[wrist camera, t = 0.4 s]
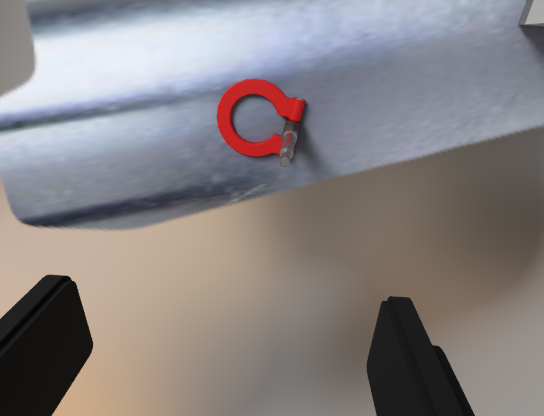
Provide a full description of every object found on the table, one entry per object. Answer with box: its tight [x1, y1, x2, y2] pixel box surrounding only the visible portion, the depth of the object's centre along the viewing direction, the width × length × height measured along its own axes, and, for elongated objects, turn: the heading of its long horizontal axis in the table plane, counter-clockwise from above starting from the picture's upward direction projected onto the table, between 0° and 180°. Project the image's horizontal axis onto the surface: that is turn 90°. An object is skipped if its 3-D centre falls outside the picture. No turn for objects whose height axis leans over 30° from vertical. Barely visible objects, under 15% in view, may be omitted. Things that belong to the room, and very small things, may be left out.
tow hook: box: [217, 79, 305, 167], centre depth 32 cm, size 8×13×9 cm
